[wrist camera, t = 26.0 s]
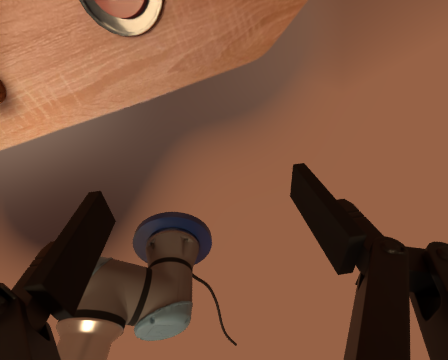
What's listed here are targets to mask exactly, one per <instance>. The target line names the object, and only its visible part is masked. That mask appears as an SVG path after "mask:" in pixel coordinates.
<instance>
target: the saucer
mask: <svg viewBox="0 0 448 360" xmlns="http://www.w3.org/2000/svg"><path fill="white" fill-rule="evenodd" d="M79 1H80V2H81V4H82V5H83V7H84V9H85V10H86V12H87V13H88V14H89V15H90V16H91V17H92V18H93V19H94V20H95V21H96V22H97V24H99V25H100V26H102V27H103V28H105V29H106V30H108V31H110V32H111V33H114V34H118V35H122V36H138V35H141V34H143V33H145V32H147V31H148V30H150V29H151V28H152V27H153V26H154V25H155V23H156V22H157V20H158V18H159V16H160V13H161V11H162V7H163V0H147V2H146V5H145V7H144V9H143V11H142V12H141V13H140V14H139V15H138V16H136V17H134V18H131V19H122V18H117V17H114V16H112V15H110V14H108V13H107V12H105V11H104V10H103V9H102V8H101V7H100V6H99V5H98V4H97V3H96V2H95V0H79Z"/></svg>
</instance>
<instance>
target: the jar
mask: <svg viewBox="0 0 448 360" xmlns="http://www.w3.org/2000/svg"><path fill="white" fill-rule="evenodd" d="M5 98H6V90H5V87H4V85H3V83H2V81H1V80H0V104H1V103H2V102H3V101H4V100H5Z"/></svg>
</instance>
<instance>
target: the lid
mask: <svg viewBox="0 0 448 360" xmlns="http://www.w3.org/2000/svg"><path fill="white" fill-rule="evenodd" d="M95 2H96V3H97V4H98V5H99V6H100V7H101V8H102V9H103V10H104V11H105V12H107V13H108V14H110V15H112V16H114V17H117V18H122V19H131V18H134V17H136V16H138V15H139V14H140V13H141V12H142V11H143V9H144V7H145V5H146V2H147V0H95Z"/></svg>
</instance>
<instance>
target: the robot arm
mask: <svg viewBox="0 0 448 360" xmlns="http://www.w3.org/2000/svg"><path fill="white" fill-rule="evenodd" d="M290 197H291V198H292V200H293V202H294V203H295V205H296V207H297V208H298V210H299V211H300V213H301V215H302V216H303V218H304V220H305V221H306V223H307V225H308V226H309V228H310V229H311V231H312V233H313V235H314V236H315V238H316V239H317V241H318V243H319V244H320V246H321V248H322V249H323V251H324V252H325V254H326V256H327V258H328V259H329V261H330V263H331V264H332V266H333V267H334V269H335V271H336V272H337V274H338V275H341V274H347V273H352V272H353V270H354V268H355V265H356V266H357V268H358V269H359V271H360V274H359V277H358V279H357V281H356V285H357V289H356V295H355V300H354V306H353V311H352V317H351V322H350V328H349V333H348V339H347V345H346V350H345V355H344V360H410V308H409V296H410V299H411V302H412V305H413V308H414V311H415V314H416V317H417V321H418V323H419V327H420V330H421V332H422V336H423V339H424V342H425V345H426V348H427V351H428V354H429V357H430V360H448V244H446V243H443V242H432V243H429V245H428V246H427V248H426V249H421V248H412V247H405V246H404V245H403V244H402V243H401V242H399V241H398V240H395V239H393V238H390V237H385V236H383V235H382V234H381V233H380V232H379V231H378V230H377V228H376V227H374V225H373V224H372V223H371V222H370V221H369V220H368V219H367V218H366V217H364V215H363V214H362V213H361V212H359V210H358V209H357V208H356V207H355V206H354V205H353V204H352V203H351V202H349V201H347V200H345V199H339V200H336V199H335V198H334V197H333V195H332V194H331V193H330V192H329V191H328V190H327V189H326V188H325V186H324V185H323V184H322V183H321V182H320V181H319V180H318V178H317V177H316V176H315V175H314V174H313V173H312V172H311V170H310V169H309V168H308V167H307V166H306V165H305V164H304V163H302V164H294V165H293V172H292V182H291V193H290ZM115 222H116V221H115V219H114V217H113V215H112V213H111V211H110V209H109V207H108V205H107V203H106V201H105V199H104V197H103V195H102V193H101V191H96V192H89V193H88V195H87V196H86V197H85V199H84V200H83V202H82V203H81V205H80V206H79V208H78V209H77V211H76V212H75V213H74V215H73V216H72V217H71V219H70V220H69V222H68V223H67V225H66V226H65V228H64V229H63V231H62V232H61V233H60V235H59V236H58V238H57V239H56V240H55V241H53V242H50V243H49V244H47V245H46V246H45V247H44V248H43V249H42V250H41V251H40V252H39V253H38V255H37V256H36V258H35V260H33V262H32V263H31V265H30V267H29V268H27V270H26V271H25V273H24V274H23V275H22V277H21V278H20V279H19V281H18V282H17V283H16V285H15V286H14V287H13V289H12V290H10V289H9V288H8V287H7V286H6V285H5V284H3V283H0V360H106V359H107V356H108V353H109V350H110V346H111V344H112V342H113V341H114V340H116V339H117V338H118V337H119V336H121V335H122V334H123V331H124V327H125V325H131V326H135V328H134V331H135V335H136V336H137V338H140V339H142V340H147V341H154V340H162V339H167V338H170V337H173V336H175V335H177V334H179V333H181V332H182V331H184V330H185V329H186V328H187V326H188V325H189V323H190V320H191V311H192V277H193V278H194V279H196V280H198V281H199V282H201V283H203V284H204V285H205V286H206V287H207V288H208V289H209V290H210V292H211V294H212V296H213V298H214V300H215V303H216V306H217V310H218V315H219V320H220V323H221V327H222V330H223V332H224V334H225V335H226V337H227V338H228V339H229V340H230V341H231V342H232V343H233V344H234V345H235V346H236V345H237V344H236V343H235V342H234V341H233V340H232V339H231V338H230V337H229V336H228V335H227V333H226V331H225V329H224V326H223V323H222V318H221V314H220V309H219V305H218V302H217V299H216V297H215V295H214V293H213V290H212V289H211V287H210V286H209V285H208V284H207V283H206V282H205V281H203V280H202V279H200V278H198V277H197V276H195V275H194V274H193V273H192V268H193V266H194V263H195V261H196V258H197V255H198V252H199V241H198V239H197V237H196V236H195V235H194V234H193V233H191V232H190V231H188V230H185V229H182V228H175V227H170V228H164V229H160V230H158V231H156V232H154V233H153V234H152V235H151V236H150V237H149V238H148V240H147V244H146V256H147V262H148V268H147V267H143V266H139V265H135V264H131V263H127V262H123V261H119V260H115V259H113V258H105V257H100V255H101V253H102V251H103V249H104V247H105V244H106V242H107V240H108V237H109V235H110V233H111V230H112V228H113V226H114V224H115ZM50 314H51V315H52V316H53V317H55V318H56V319H57V320H59V321H58V323H57V325H56V329H57V331H58V334H59V336H60V340H59V342H58V345H57V346H56V343H55V340H54V337H53V334H52V331H51V328H50V326H49V324H48V323H47V322H46V321H47V319H48V318H49V316H50Z"/></svg>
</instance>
